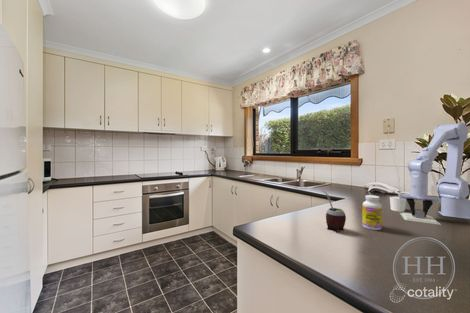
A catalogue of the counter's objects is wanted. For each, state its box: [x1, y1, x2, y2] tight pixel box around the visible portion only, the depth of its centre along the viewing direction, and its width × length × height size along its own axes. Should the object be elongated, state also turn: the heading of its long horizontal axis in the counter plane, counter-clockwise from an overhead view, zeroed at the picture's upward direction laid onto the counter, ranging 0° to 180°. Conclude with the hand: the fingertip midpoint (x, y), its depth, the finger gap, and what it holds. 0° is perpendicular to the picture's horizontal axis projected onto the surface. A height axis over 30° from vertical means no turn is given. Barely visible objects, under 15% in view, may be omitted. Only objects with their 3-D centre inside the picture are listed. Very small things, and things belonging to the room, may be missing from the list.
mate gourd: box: [322, 189, 347, 233], centre depth 82 cm, size 8×8×15 cm
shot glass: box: [389, 196, 407, 213], centre depth 107 cm, size 7×7×7 cm
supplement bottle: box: [361, 194, 383, 231], centre depth 84 cm, size 7×7×13 cm
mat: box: [399, 212, 442, 226], centre depth 94 cm, size 12×12×1 cm
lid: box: [402, 208, 437, 224], centre depth 94 cm, size 10×10×4 cm
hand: (418, 215), depth 94 cm, fingers open, 3 cm apart
